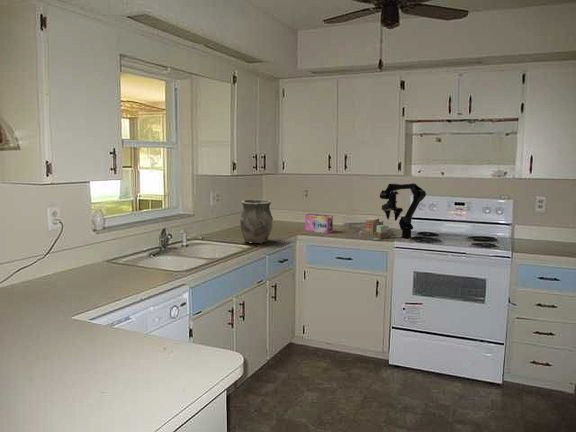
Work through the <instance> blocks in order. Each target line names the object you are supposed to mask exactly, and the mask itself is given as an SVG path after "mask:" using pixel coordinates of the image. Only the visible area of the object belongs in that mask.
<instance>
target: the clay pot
mask: <svg viewBox="0 0 576 432" xmlns="http://www.w3.org/2000/svg"><path fill="white" fill-rule="evenodd" d="M241 204H242V205H243V206H242V211H241V215H240V220H239V221H240V229H241V233H242V238H243V239H244V242H245V241H246V242H245V243H247V242H252V243H260V244H263V243H262V242H265V243H267V242H268V239H269V237H270V235H271V232H272V229H273V220H274V218H273V215H272V212H271V209H270V206H271V204H272V201H271V200H269V199H260V198H256V199H255V198H253V199H252V198H250V199H246V200H245V199H243V200H242V201H241ZM252 243H251V244H252Z"/></svg>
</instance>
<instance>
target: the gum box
mask: <svg viewBox="0 0 576 432" xmlns="http://www.w3.org/2000/svg"><path fill="white" fill-rule="evenodd" d="M333 220H334V218H333V215H330V214H318V213H317V214H316V213H307V214H305V215H304V231H305V230H307V231H306V232H312V231H314V232H315V233H320V232H321V233H322V234H331V233H333V232H334V230H333V228H334V227H333V225H334V224H333ZM314 232H313V233H314ZM321 233H320V234H321Z"/></svg>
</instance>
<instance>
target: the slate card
mask: <svg viewBox="0 0 576 432" xmlns="http://www.w3.org/2000/svg"><path fill="white" fill-rule="evenodd" d="M369 240H371V241H374V242H377V241H383V240H384V238H382V239H380V238H375V237H370V238H369Z"/></svg>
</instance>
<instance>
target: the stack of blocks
mask: <svg viewBox="0 0 576 432" xmlns="http://www.w3.org/2000/svg"><path fill="white" fill-rule="evenodd" d="M377 225H384V220H380V218H379V217H369V218H368V219H366V220H365V235H366V236H374V232H376V231H377Z"/></svg>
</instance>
